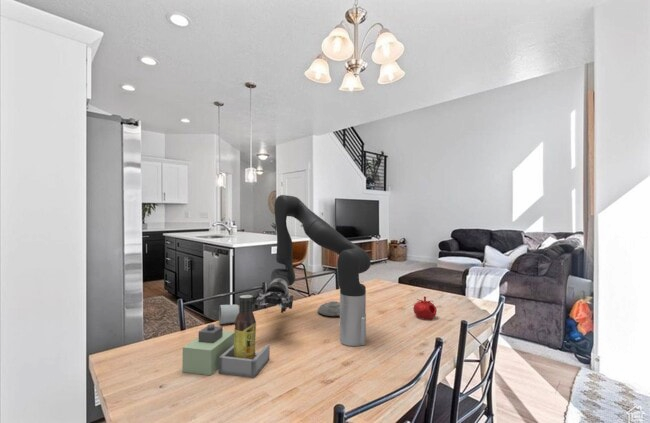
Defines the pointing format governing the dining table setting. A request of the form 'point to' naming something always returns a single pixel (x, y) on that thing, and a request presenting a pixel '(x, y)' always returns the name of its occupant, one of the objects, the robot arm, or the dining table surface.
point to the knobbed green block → (220, 355)
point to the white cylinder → (228, 313)
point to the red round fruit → (425, 309)
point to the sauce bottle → (245, 329)
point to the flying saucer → (330, 309)
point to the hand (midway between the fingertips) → (269, 308)
